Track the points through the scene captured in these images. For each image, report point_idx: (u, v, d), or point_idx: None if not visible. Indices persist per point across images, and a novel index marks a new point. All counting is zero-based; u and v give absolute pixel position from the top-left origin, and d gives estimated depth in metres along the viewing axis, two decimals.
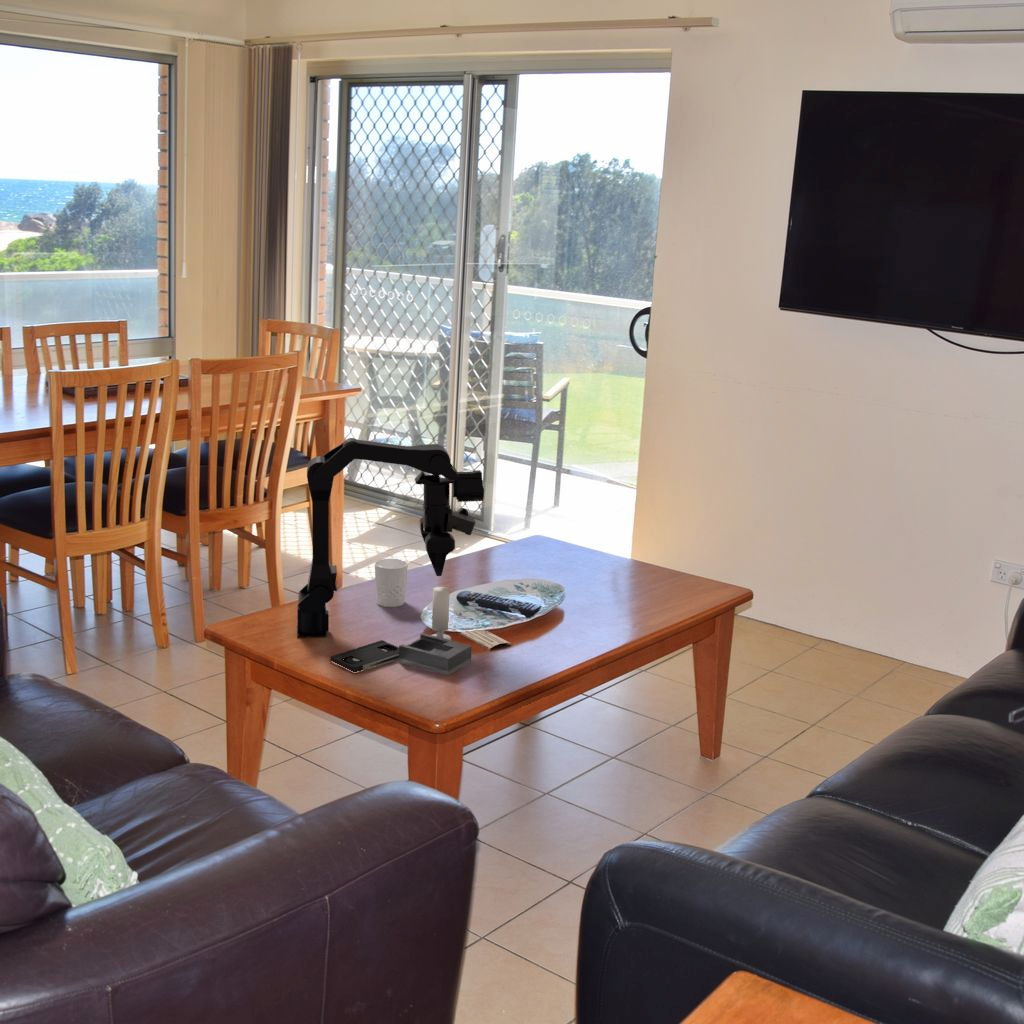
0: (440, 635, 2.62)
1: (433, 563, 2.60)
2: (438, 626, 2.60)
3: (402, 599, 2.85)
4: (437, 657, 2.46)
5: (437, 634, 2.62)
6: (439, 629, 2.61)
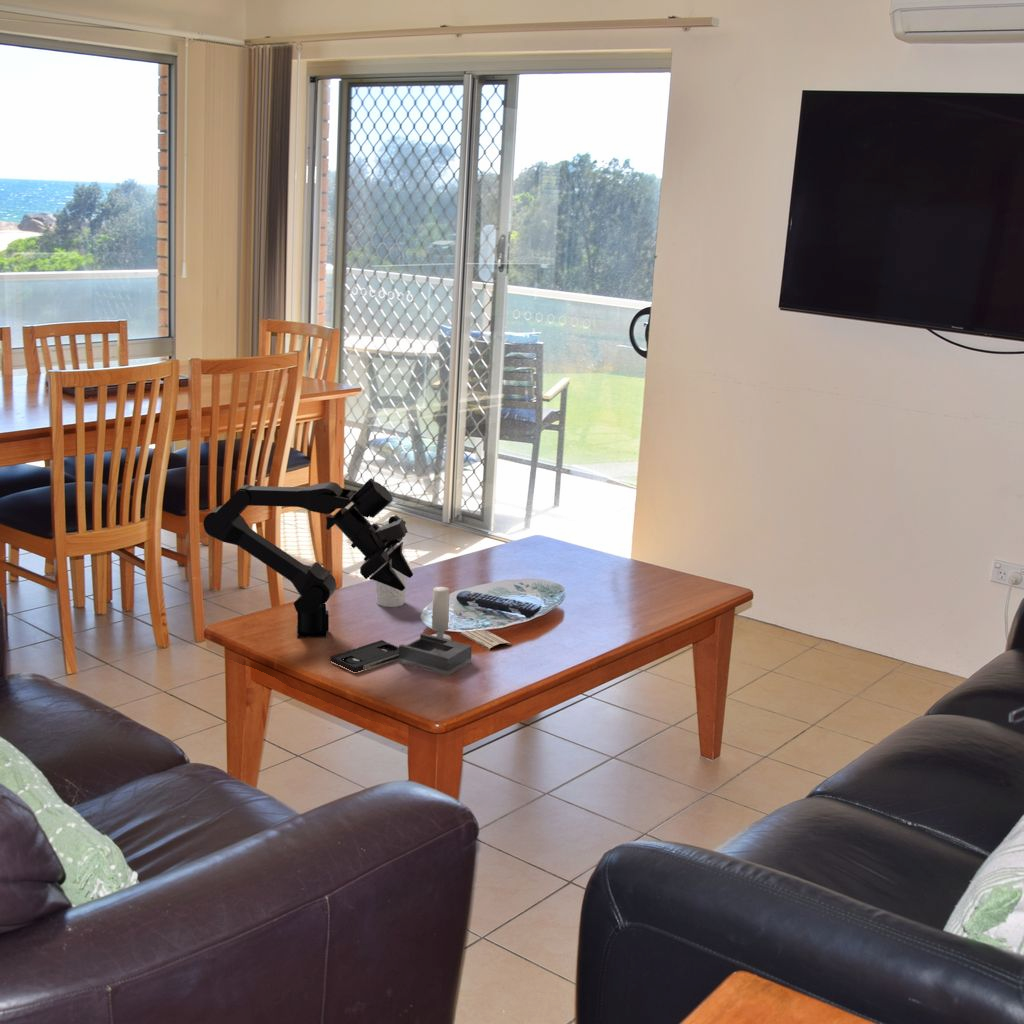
0: (440, 635, 2.62)
1: (387, 583, 2.55)
2: (438, 626, 2.60)
3: (402, 599, 2.85)
4: (437, 657, 2.46)
5: (437, 634, 2.62)
6: (439, 629, 2.61)
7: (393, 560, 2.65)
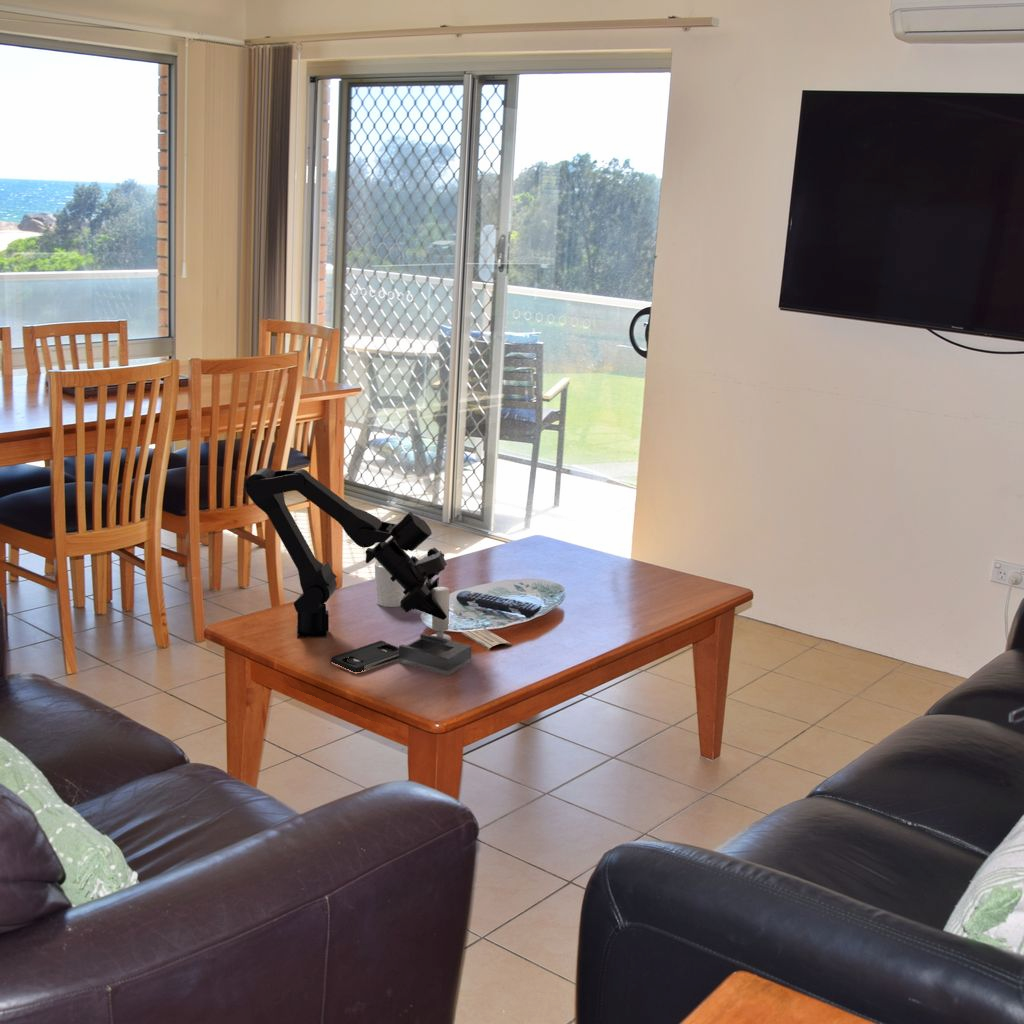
0: (440, 635, 2.62)
1: (429, 612, 2.58)
2: (438, 626, 2.60)
3: None
4: (437, 657, 2.46)
5: (437, 634, 2.62)
6: (439, 629, 2.61)
7: None
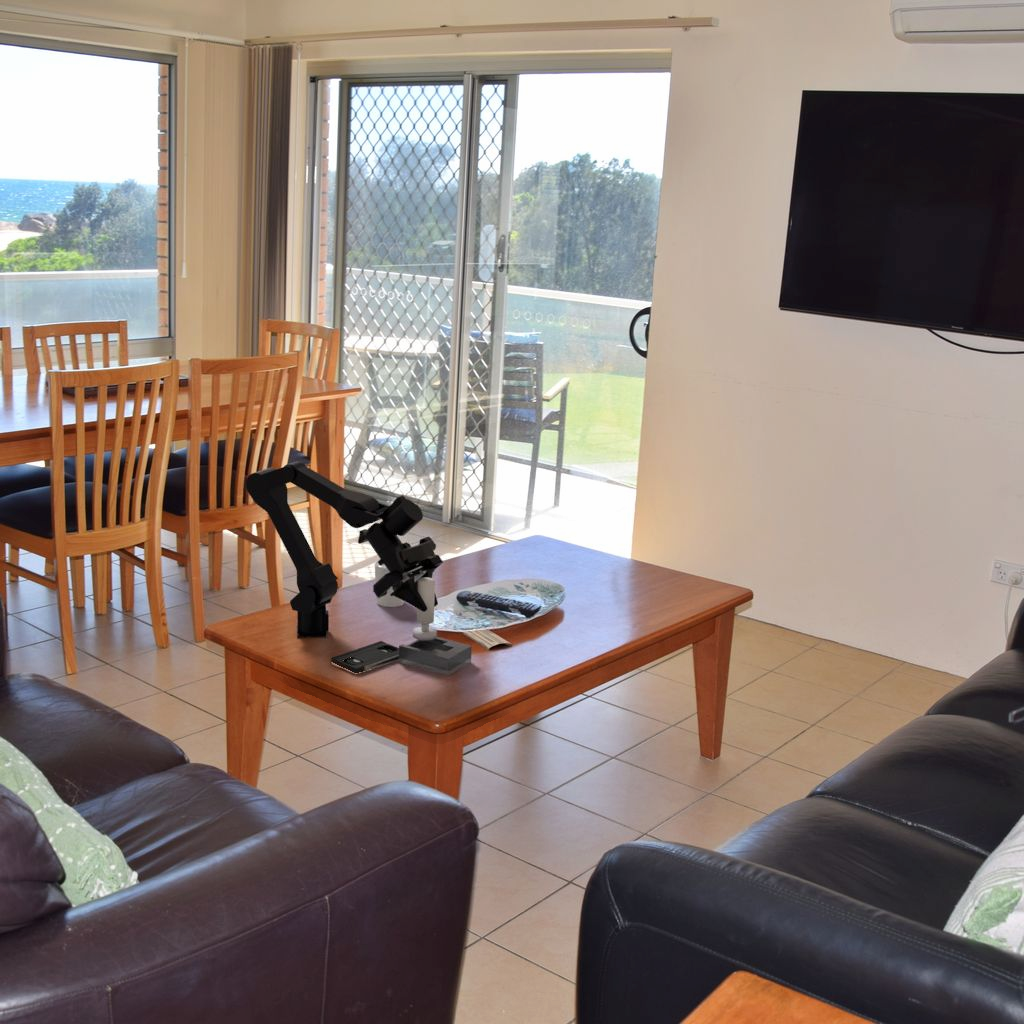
0: (424, 628, 2.51)
1: (410, 602, 2.48)
2: (420, 618, 2.50)
3: None
4: (437, 657, 2.46)
5: (421, 626, 2.51)
6: (421, 621, 2.50)
7: None
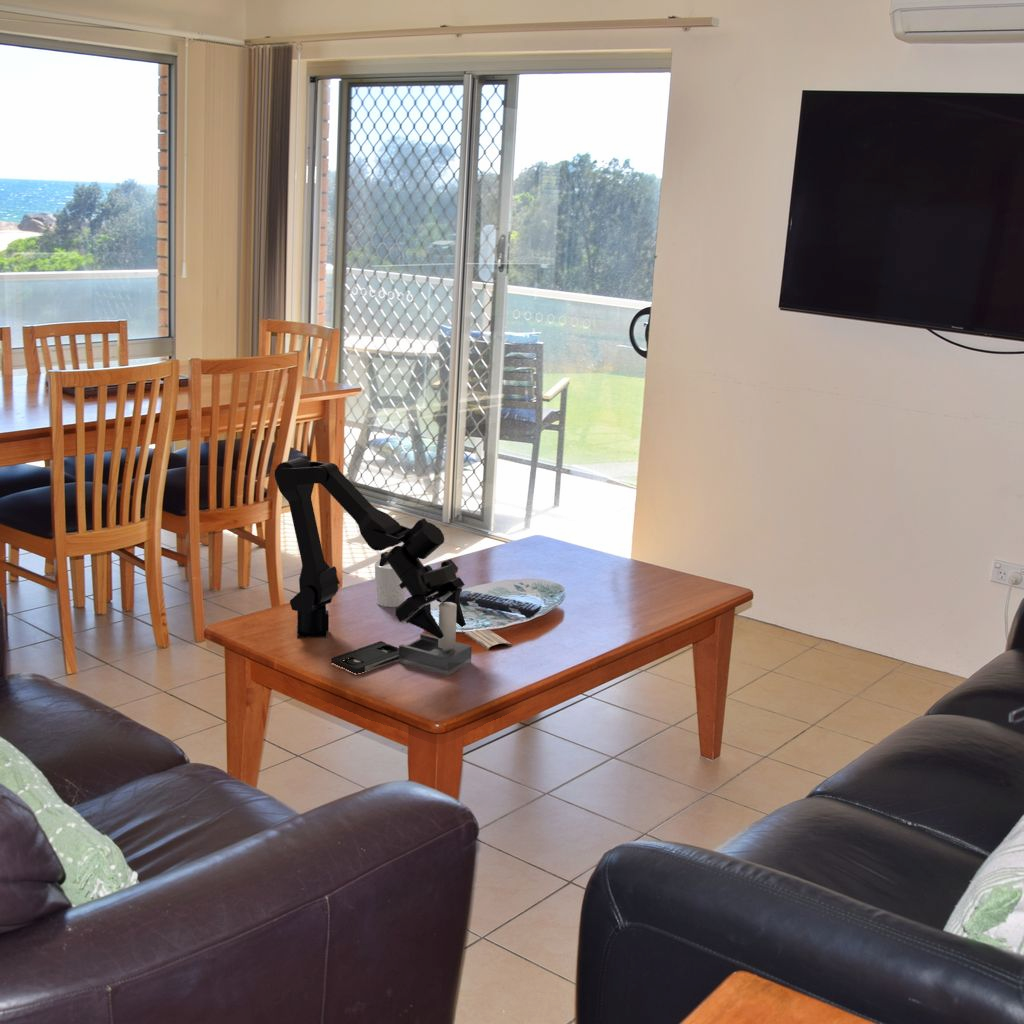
0: None
1: (425, 629, 2.45)
2: (441, 643, 2.48)
3: (402, 599, 2.85)
4: (437, 657, 2.46)
5: None
6: (442, 646, 2.48)
7: None
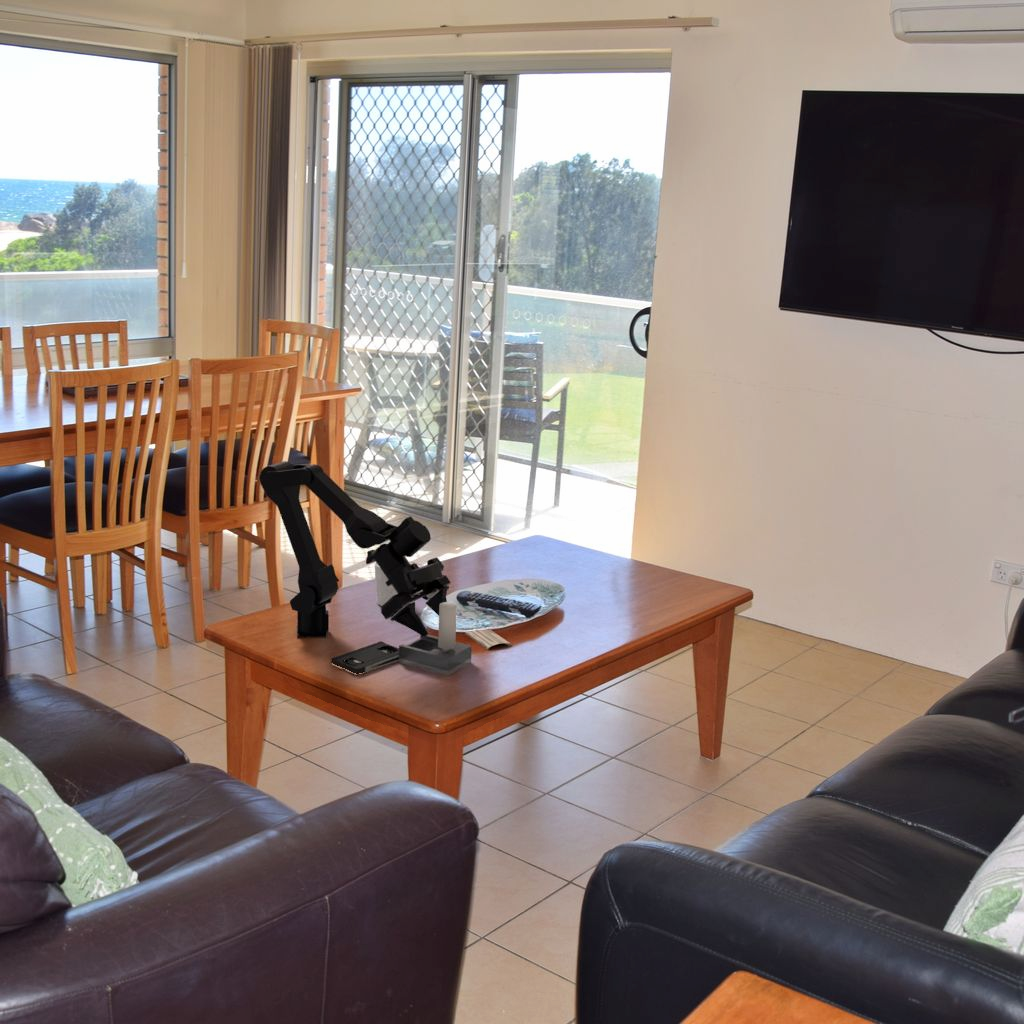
0: None
1: (410, 627, 2.46)
2: (441, 643, 2.48)
3: None
4: (437, 657, 2.46)
5: None
6: (442, 646, 2.48)
7: (435, 604, 2.55)
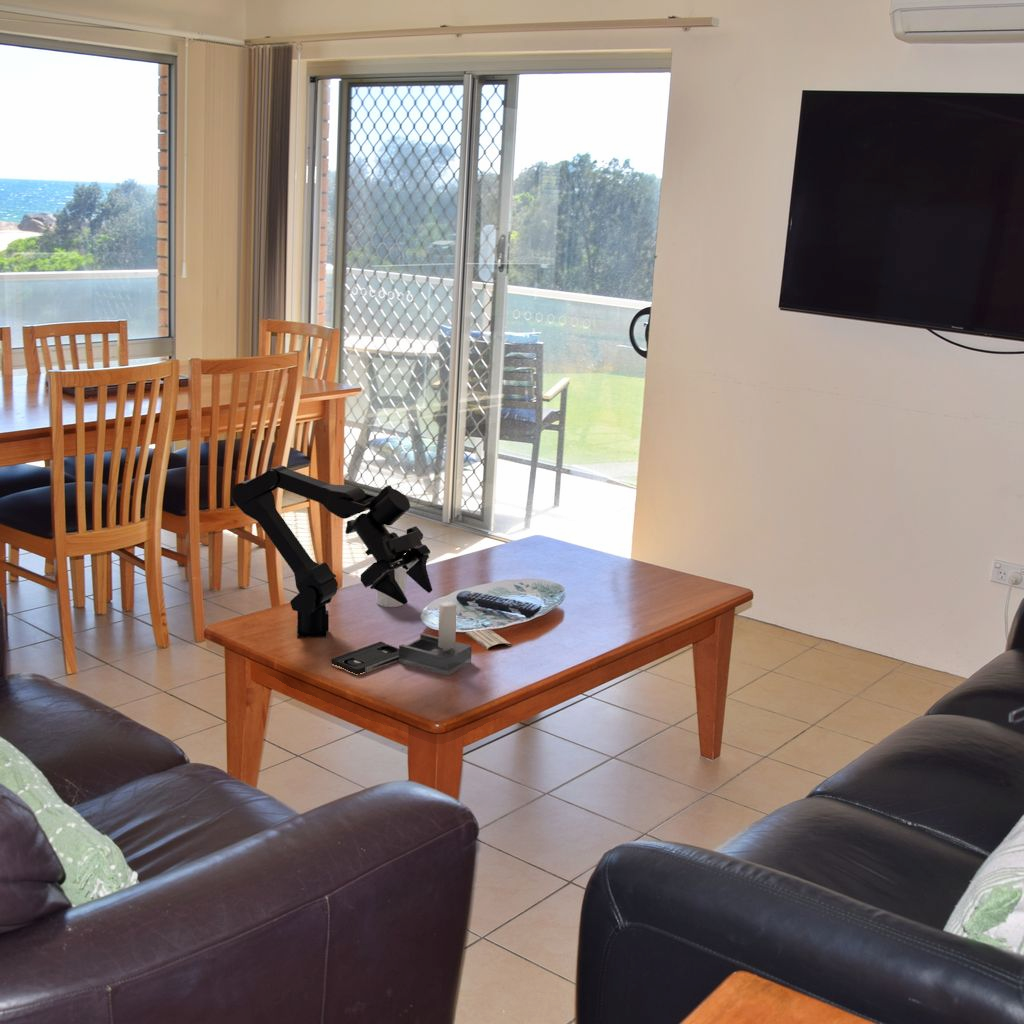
0: None
1: (390, 595, 2.47)
2: (441, 643, 2.48)
3: None
4: (437, 657, 2.46)
5: None
6: (442, 646, 2.48)
7: (415, 573, 2.56)
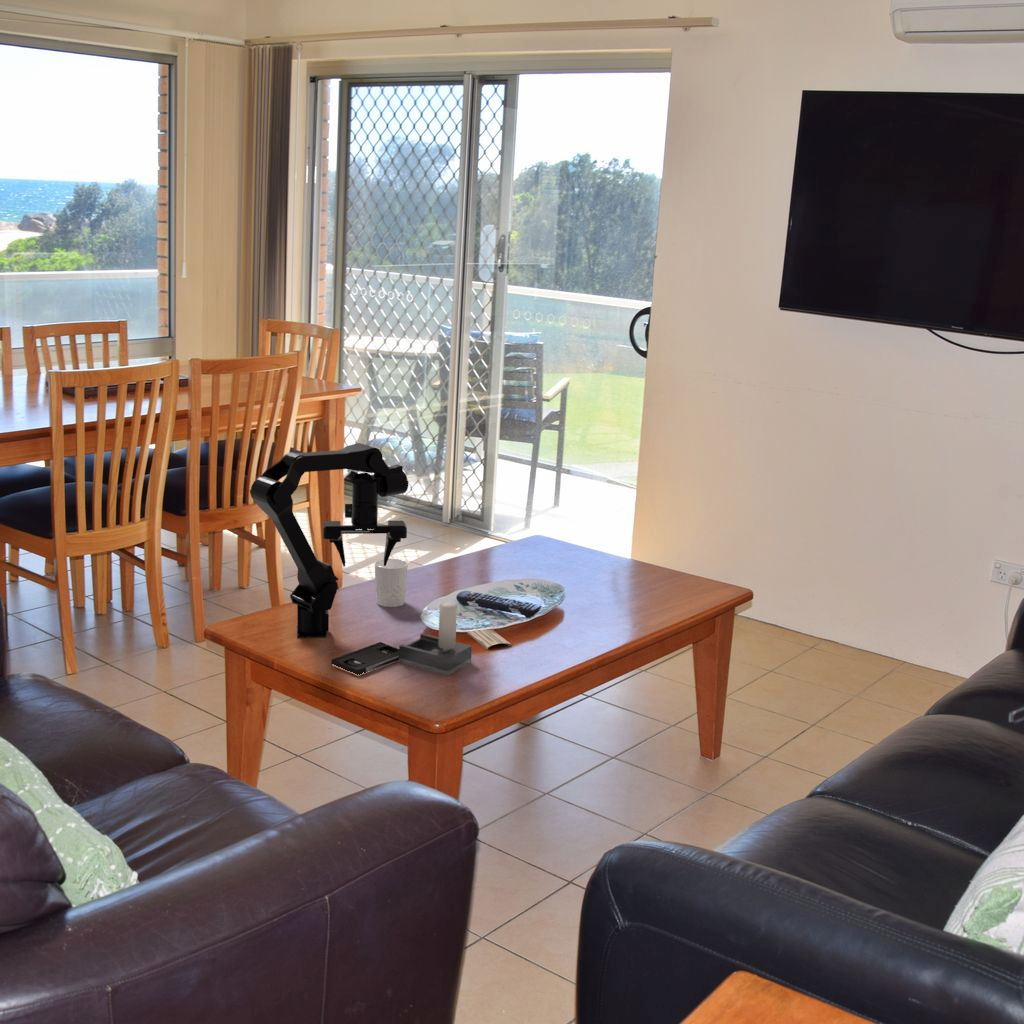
0: None
1: None
2: (441, 643, 2.48)
3: (402, 599, 2.85)
4: (437, 657, 2.46)
5: None
6: (442, 646, 2.48)
7: None
